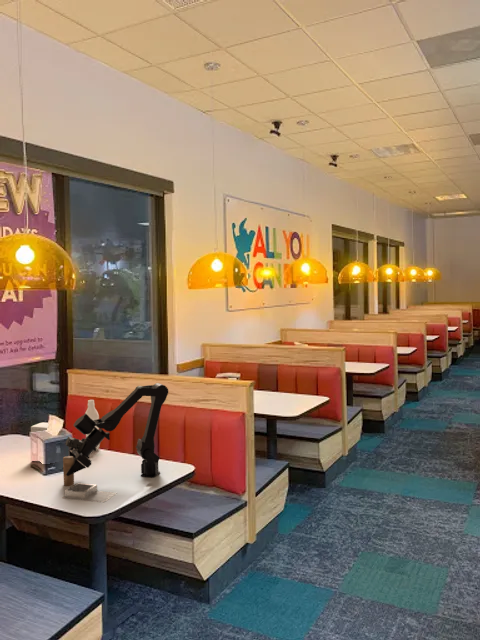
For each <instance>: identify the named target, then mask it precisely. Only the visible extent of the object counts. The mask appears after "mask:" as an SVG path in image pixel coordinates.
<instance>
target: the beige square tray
mask: <svg viewBox="0 0 480 640" xmlns="http://www.w3.org/2000/svg"><path fill="white" fill-rule="evenodd" d="M78 490H82V491H78ZM83 491H84V492H83ZM97 491H98V485H97V484H91V483H81V482H80V483H79V482H77V483H74V485H72V486H69V487H68V488H67V489H65V490H64V496H65V497H70V498H79V499H86V498H88V497H89V496H91V495H92V494H94V493H95V492H97Z"/></svg>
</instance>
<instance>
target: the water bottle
mask: <svg viewBox="0 0 480 640" xmlns="http://www.w3.org/2000/svg"><path fill="white" fill-rule="evenodd" d="M95 405H96V404H95V400H94V399H89V400H87V409H86V411H85V413H86V414H87V415H88V416H89V417H90V418H91V419H92V420H97V419H100V415H99V412H98V410H97V409H96V407H95ZM95 427H96V428H97V429H98V430H99V429H100V428H98V427H97V426H95ZM92 431H93V430H92ZM88 435H89V434H85V438H86V437H87V436H88ZM100 445H101V443H100V444H99V445H98V446H97V447H96V451H98V450H99V448H100Z"/></svg>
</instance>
